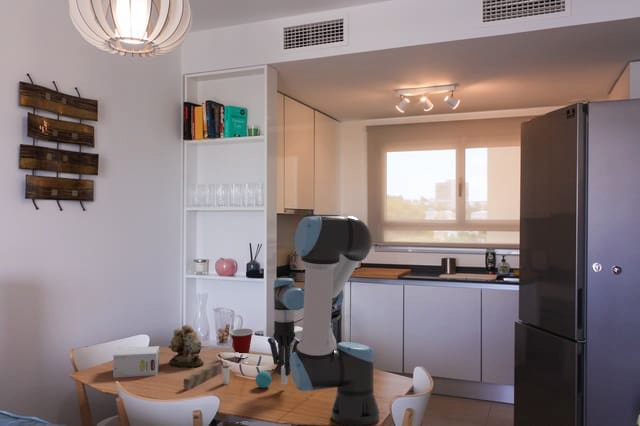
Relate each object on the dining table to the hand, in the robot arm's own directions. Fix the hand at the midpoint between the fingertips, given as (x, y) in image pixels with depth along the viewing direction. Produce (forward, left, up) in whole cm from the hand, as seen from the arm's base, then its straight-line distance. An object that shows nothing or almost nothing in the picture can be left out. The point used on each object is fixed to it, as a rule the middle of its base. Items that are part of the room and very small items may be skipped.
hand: (284, 383), depth 201 cm
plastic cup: (+37, +37, -2) cm, 52 cm away
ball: (0, +8, +1) cm, 8 cm away
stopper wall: (0, +34, -2) cm, 34 cm away
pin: (0, +24, -2) cm, 25 cm away
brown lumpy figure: (+19, +55, -3) cm, 59 cm away
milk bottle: (+27, -8, -2) cm, 28 cm away
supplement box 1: (+2, +67, -3) cm, 68 cm away
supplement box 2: (+36, +10, -2) cm, 37 cm away
